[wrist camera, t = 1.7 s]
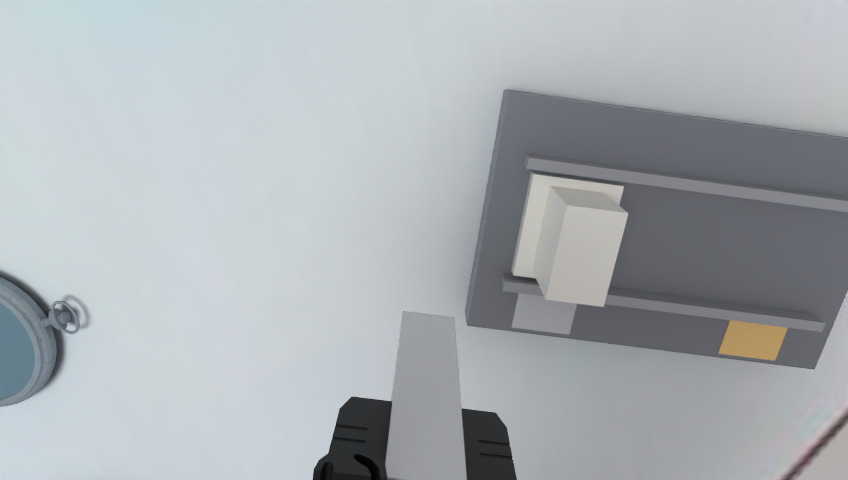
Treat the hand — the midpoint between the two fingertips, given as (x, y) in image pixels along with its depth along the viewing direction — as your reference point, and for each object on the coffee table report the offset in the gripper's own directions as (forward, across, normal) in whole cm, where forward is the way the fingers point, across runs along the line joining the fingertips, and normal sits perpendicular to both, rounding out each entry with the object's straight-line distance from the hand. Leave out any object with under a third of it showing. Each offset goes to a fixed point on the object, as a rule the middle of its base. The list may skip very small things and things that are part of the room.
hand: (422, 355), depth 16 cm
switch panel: (+18, -14, 0) cm, 23 cm away
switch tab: (+16, -8, 0) cm, 18 cm away
